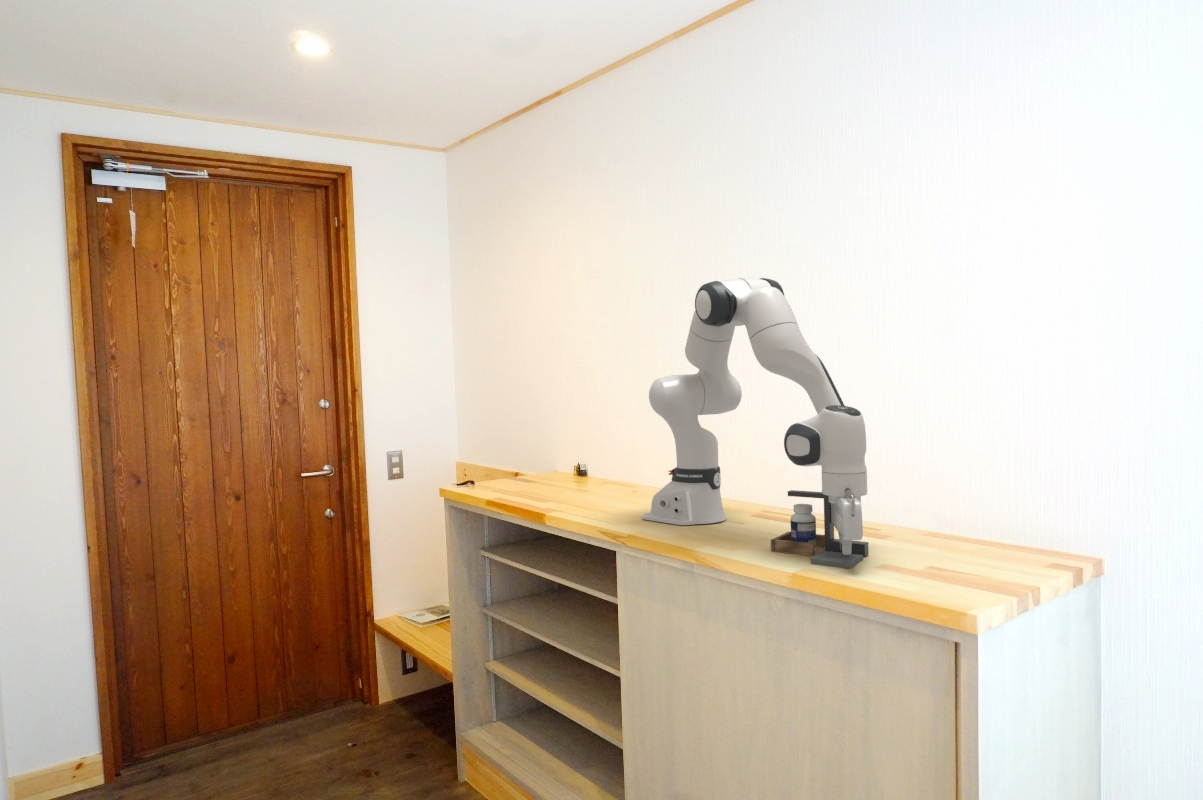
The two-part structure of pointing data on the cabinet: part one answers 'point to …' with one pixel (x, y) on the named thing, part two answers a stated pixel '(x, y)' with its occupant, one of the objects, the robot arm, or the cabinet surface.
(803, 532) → the pill bottle
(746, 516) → the cabinet surface
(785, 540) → the cradle
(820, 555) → the mat
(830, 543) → the gate
